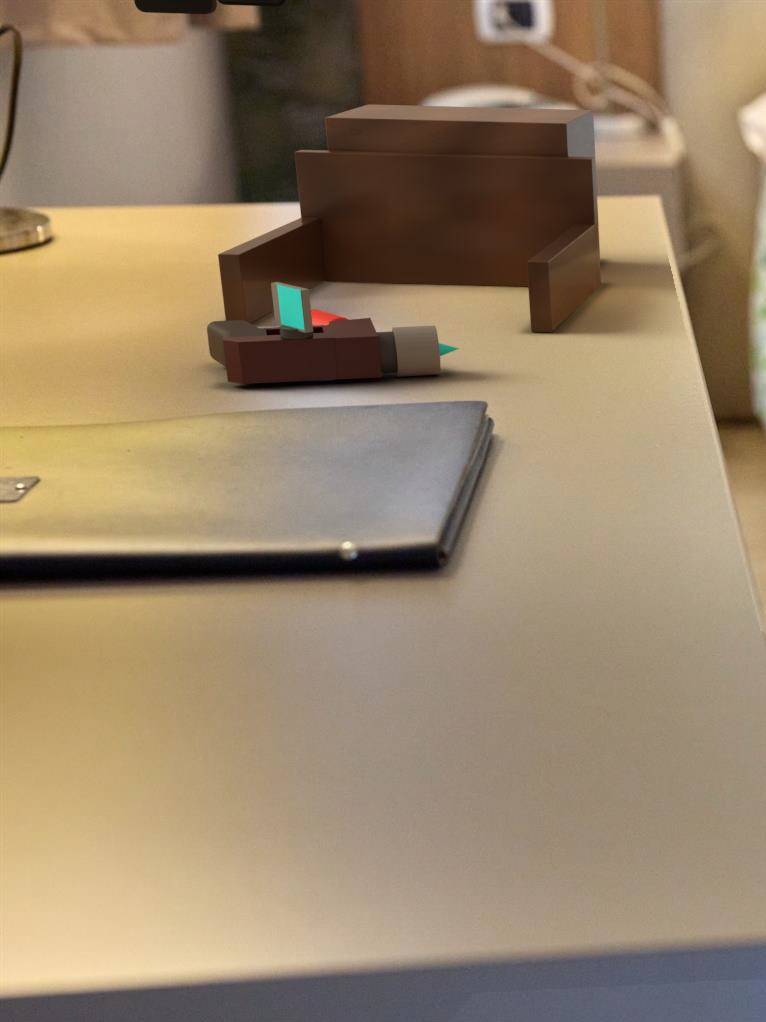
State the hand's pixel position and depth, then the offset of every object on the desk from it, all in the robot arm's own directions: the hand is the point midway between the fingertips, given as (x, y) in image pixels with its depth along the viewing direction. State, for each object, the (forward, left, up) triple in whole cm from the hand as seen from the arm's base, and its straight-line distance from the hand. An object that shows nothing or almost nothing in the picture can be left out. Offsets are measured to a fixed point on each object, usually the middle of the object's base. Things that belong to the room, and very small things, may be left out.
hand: (217, 8), depth 86 cm
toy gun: (+1, +9, -18) cm, 20 cm away
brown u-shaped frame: (+1, +32, -18) cm, 37 cm away
